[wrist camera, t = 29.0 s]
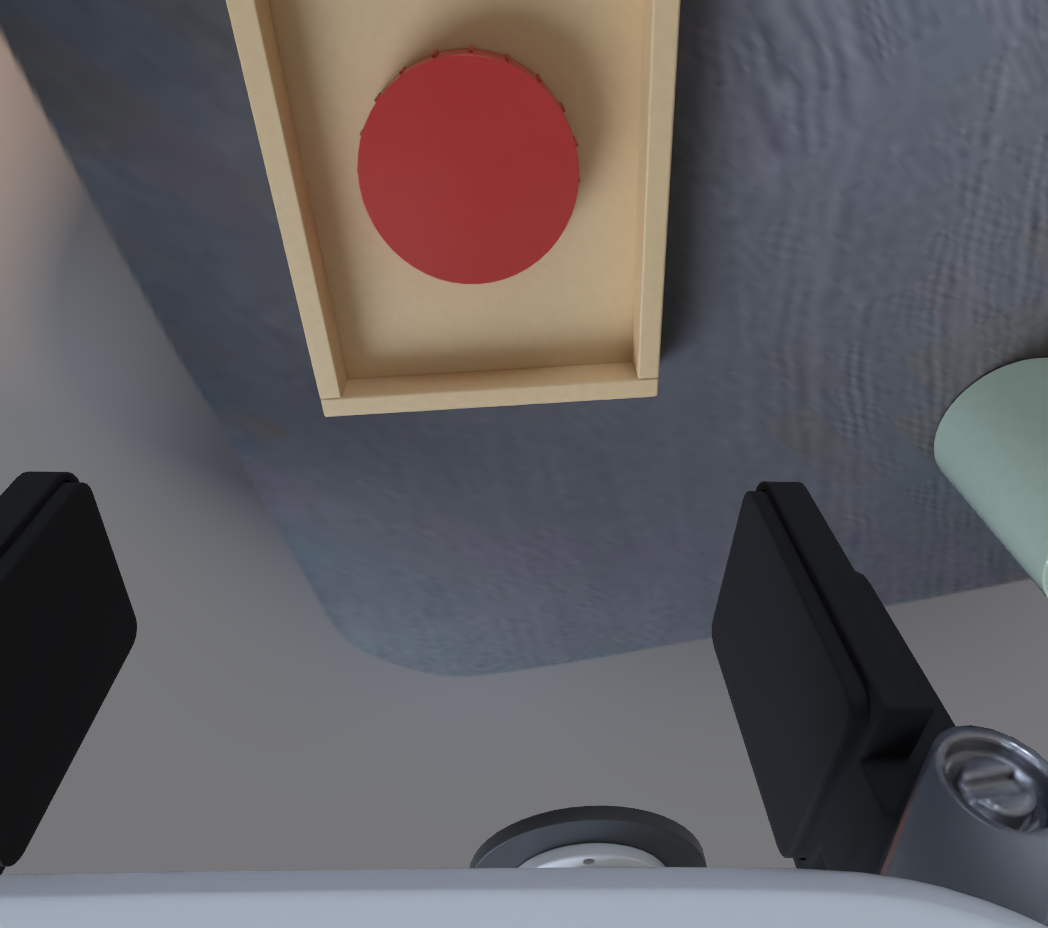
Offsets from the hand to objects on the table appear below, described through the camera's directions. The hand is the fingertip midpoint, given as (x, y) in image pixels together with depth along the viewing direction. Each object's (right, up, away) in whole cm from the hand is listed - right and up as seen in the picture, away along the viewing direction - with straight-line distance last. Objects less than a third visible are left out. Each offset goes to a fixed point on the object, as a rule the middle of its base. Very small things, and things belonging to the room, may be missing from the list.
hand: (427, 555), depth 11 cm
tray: (0, +11, +14) cm, 18 cm away
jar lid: (0, +10, +13) cm, 16 cm away
